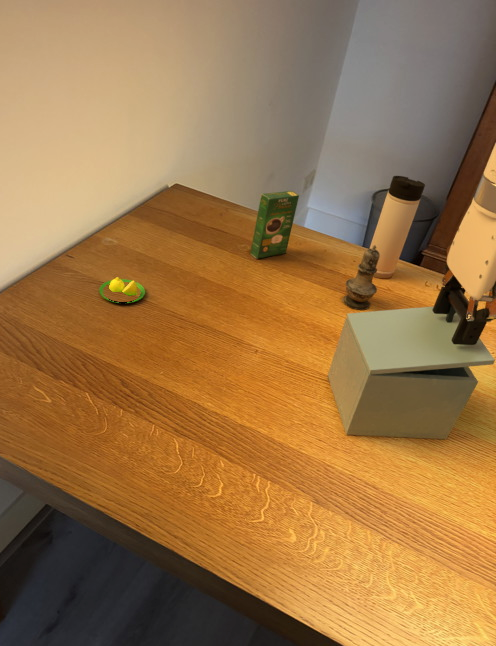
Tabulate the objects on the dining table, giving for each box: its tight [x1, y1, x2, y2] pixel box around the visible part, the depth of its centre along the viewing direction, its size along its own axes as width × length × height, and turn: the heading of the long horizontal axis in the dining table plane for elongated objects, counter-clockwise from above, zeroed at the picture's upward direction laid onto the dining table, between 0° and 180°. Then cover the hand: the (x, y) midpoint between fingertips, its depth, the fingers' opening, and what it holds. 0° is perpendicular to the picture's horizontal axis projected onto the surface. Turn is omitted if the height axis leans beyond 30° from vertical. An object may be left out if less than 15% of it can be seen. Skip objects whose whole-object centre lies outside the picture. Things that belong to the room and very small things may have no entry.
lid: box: [346, 288, 496, 375], centre depth 72 cm, size 16×13×6 cm
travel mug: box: [369, 175, 426, 280], centre depth 109 cm, size 6×7×20 cm
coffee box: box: [249, 190, 300, 260], centre depth 111 cm, size 8×3×13 cm, turn 122°
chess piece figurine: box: [342, 245, 380, 311], centre depth 100 cm, size 6×6×12 cm
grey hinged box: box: [327, 317, 479, 440], centre depth 78 cm, size 15×13×11 cm
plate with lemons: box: [99, 276, 146, 304], centre depth 96 cm, size 8×8×3 cm
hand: (453, 326), depth 73 cm, fingers closed on lid, 6 cm apart
